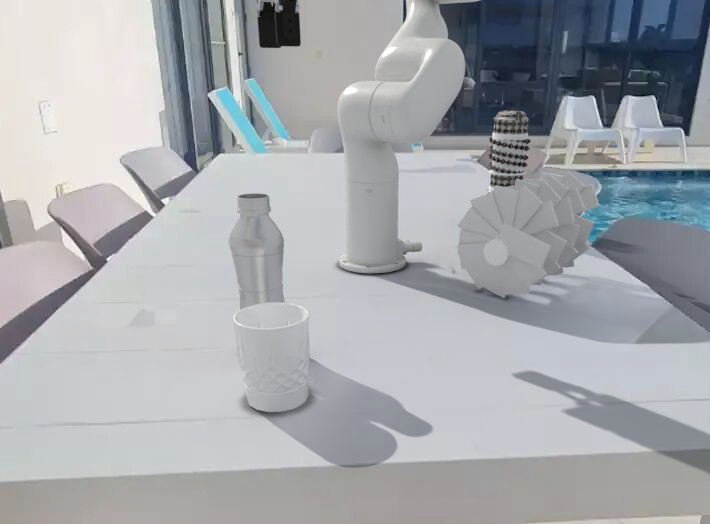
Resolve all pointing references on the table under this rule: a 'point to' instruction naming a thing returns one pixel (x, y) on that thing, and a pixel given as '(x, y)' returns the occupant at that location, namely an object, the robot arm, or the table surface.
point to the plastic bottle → (257, 252)
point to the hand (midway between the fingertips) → (279, 47)
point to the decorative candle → (508, 148)
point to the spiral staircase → (525, 232)
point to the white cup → (274, 355)
